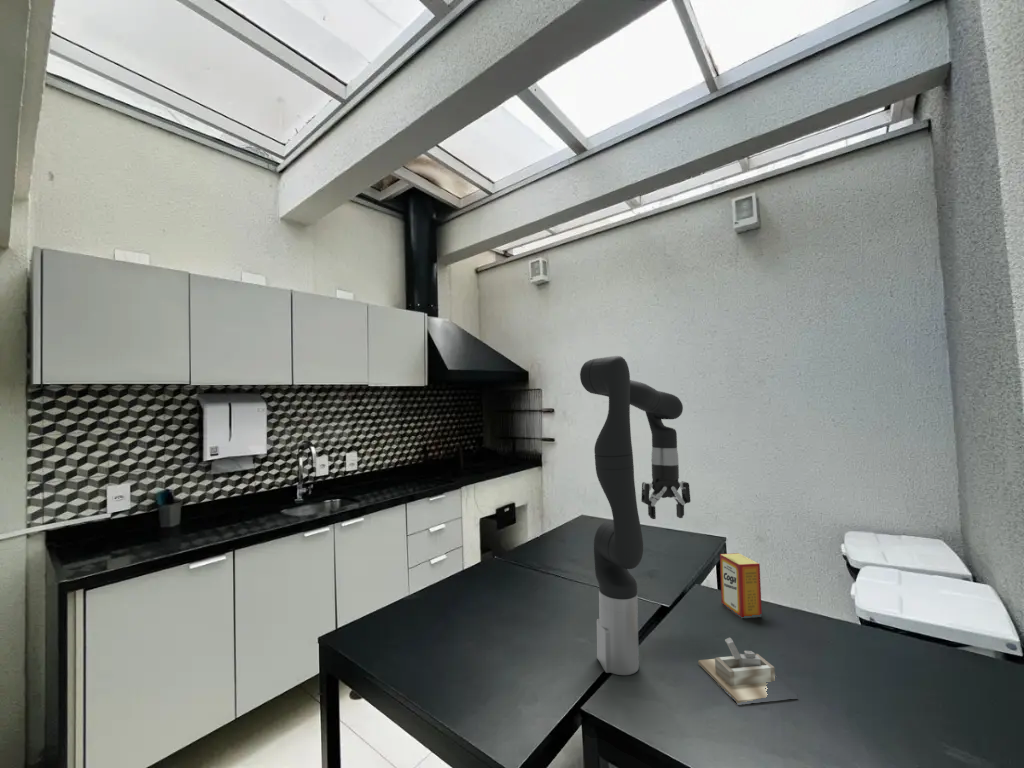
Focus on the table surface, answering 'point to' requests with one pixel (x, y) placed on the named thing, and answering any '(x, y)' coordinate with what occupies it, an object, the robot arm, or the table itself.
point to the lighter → (743, 656)
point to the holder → (740, 677)
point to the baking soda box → (740, 584)
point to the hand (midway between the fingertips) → (666, 518)
